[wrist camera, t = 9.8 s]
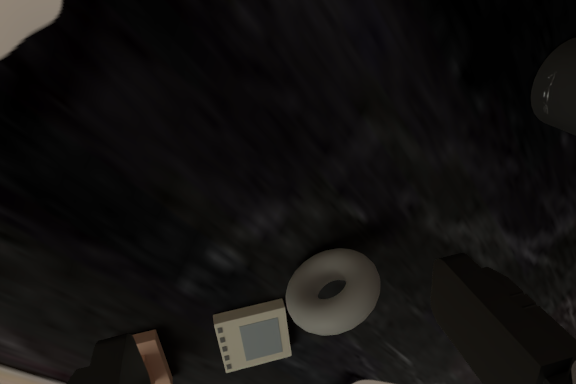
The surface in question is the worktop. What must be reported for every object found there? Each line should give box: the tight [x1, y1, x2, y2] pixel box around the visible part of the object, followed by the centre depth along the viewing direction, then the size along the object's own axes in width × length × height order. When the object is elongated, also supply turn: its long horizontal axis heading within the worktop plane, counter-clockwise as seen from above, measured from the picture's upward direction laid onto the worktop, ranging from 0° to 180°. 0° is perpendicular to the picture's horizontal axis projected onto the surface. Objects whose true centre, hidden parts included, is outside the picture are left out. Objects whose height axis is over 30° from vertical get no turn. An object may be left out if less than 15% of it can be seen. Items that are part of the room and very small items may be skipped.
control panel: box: [213, 298, 291, 373], centre depth 48 cm, size 8×8×2 cm
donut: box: [286, 248, 380, 336], centre depth 42 cm, size 10×4×10 cm, turn 115°
